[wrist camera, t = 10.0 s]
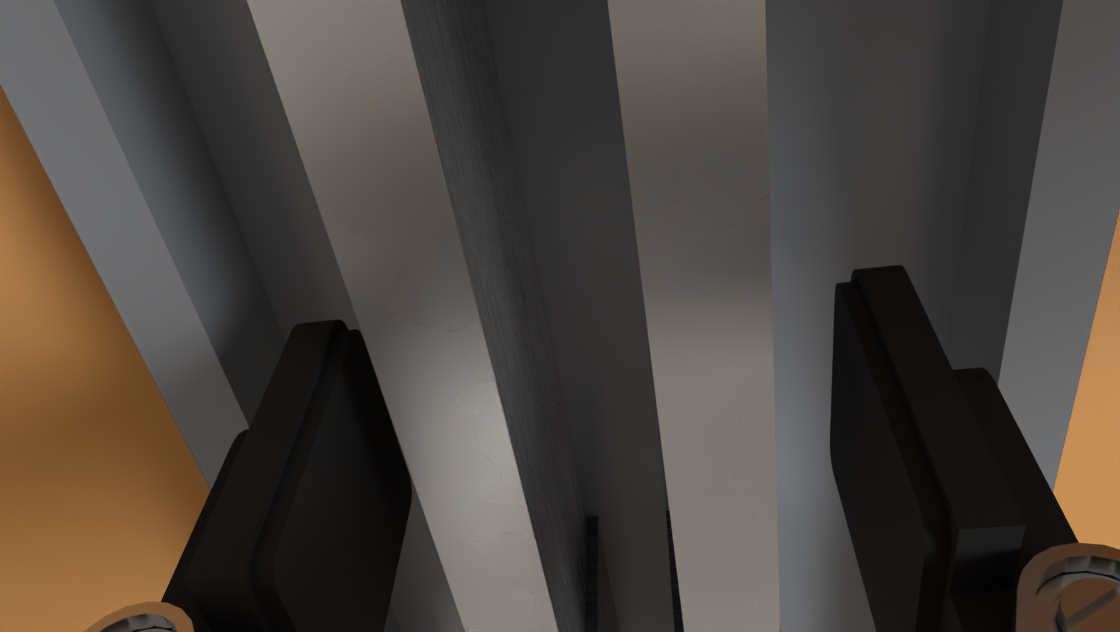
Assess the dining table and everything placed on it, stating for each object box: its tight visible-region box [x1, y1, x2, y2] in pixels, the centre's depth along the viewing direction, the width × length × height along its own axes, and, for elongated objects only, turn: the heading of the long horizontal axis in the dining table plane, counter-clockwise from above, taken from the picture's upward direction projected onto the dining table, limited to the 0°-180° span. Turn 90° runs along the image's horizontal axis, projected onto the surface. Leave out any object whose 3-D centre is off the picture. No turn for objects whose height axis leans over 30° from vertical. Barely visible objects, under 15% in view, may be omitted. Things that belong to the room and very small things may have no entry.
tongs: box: [247, 0, 781, 632], centre depth 12 cm, size 4×20×4 cm, turn 9°
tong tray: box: [0, 0, 1120, 632], centre depth 13 cm, size 28×12×2 cm, turn 8°
